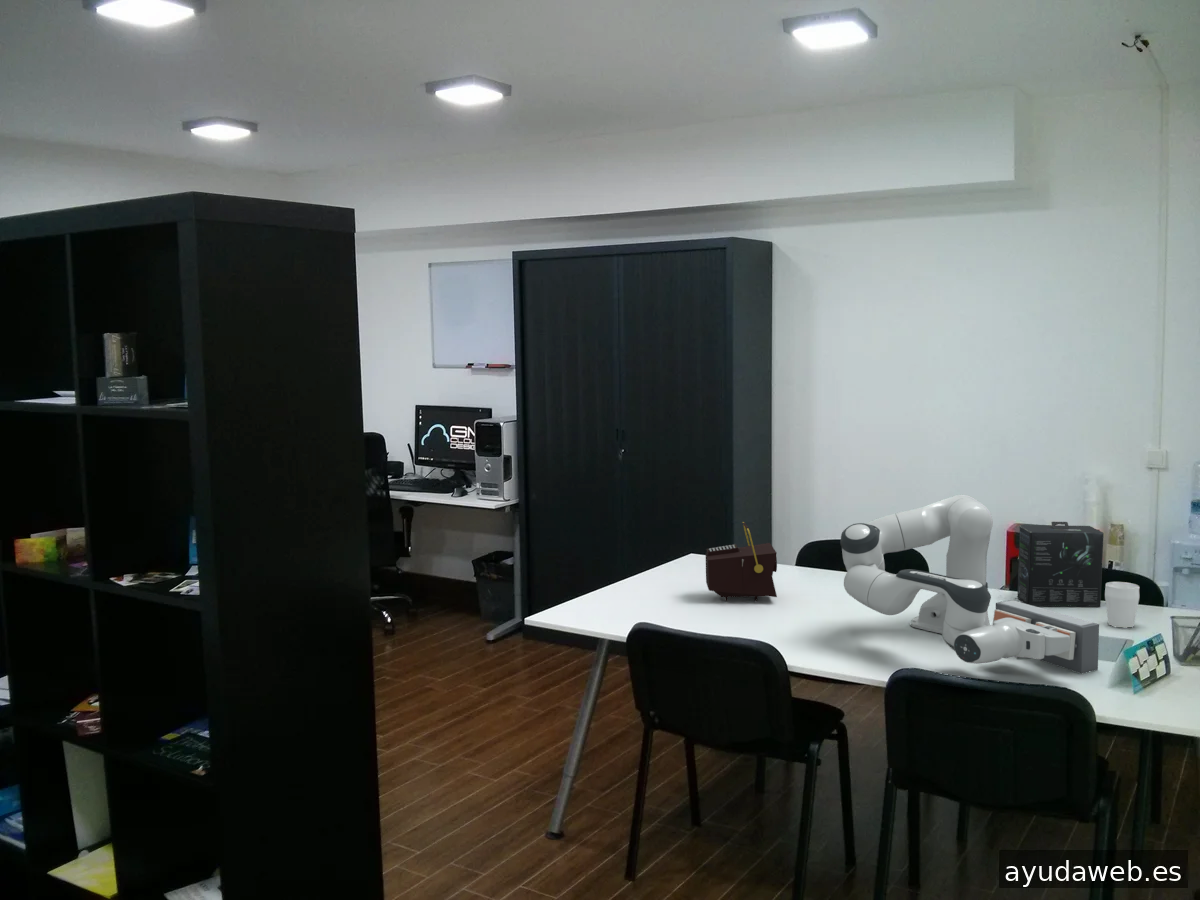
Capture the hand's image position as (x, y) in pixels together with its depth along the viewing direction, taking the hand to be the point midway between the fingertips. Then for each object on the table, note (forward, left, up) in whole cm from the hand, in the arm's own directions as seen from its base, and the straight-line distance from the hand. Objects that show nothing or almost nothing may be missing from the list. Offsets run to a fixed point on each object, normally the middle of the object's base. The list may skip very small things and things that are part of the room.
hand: (1052, 629), depth 263 cm
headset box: (-17, +66, -10) cm, 69 cm away
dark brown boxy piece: (-102, +14, -10) cm, 104 cm away
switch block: (-3, +11, -10) cm, 15 cm away
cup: (+5, +50, -10) cm, 51 cm away
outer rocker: (0, +1, -7) cm, 7 cm away
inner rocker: (-13, +6, -6) cm, 16 cm away
